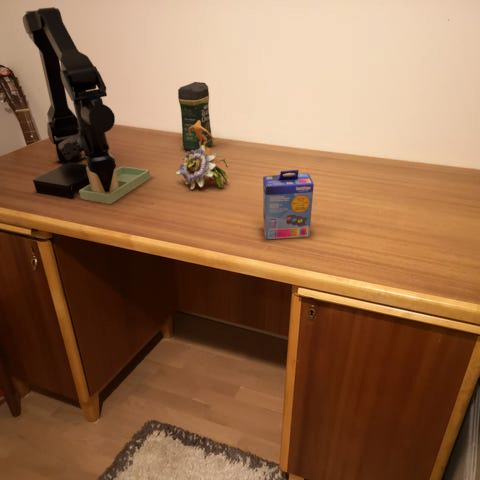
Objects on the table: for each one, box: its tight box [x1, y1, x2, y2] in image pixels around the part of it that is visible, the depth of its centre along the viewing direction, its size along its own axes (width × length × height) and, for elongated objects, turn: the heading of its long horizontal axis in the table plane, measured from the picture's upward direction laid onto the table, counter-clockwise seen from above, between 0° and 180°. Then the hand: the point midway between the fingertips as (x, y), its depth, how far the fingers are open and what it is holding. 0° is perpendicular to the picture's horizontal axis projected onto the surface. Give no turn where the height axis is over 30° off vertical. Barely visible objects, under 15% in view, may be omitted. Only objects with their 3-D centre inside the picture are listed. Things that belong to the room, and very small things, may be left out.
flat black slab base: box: [32, 162, 89, 200], centre depth 125 cm, size 14×12×4 cm
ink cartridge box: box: [262, 169, 315, 241], centre depth 96 cm, size 10×6×14 cm, turn 95°
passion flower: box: [175, 145, 229, 191], centre depth 121 cm, size 11×11×12 cm
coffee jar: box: [177, 81, 213, 152], centre depth 142 cm, size 10×8×19 cm
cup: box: [86, 164, 119, 194], centre depth 118 cm, size 7×7×7 cm
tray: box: [78, 165, 152, 205], centre depth 123 cm, size 18×9×2 cm, turn 155°
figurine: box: [189, 120, 215, 155], centre depth 133 cm, size 8×6×12 cm
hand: (105, 185), depth 119 cm, fingers open, 8 cm apart
